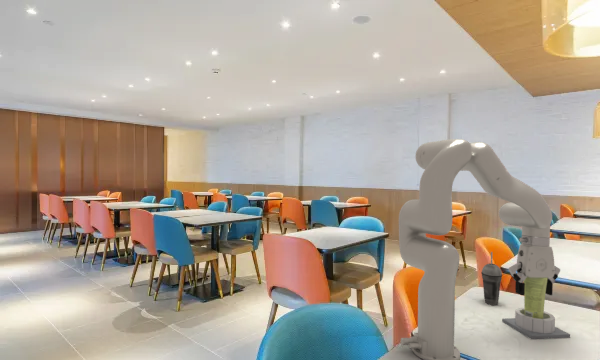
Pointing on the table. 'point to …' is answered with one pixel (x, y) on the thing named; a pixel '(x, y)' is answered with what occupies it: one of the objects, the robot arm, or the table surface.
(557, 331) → the socket board
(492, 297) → the beverage cup
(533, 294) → the tube
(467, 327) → the table surface
